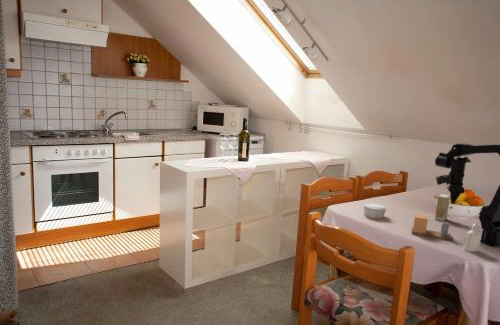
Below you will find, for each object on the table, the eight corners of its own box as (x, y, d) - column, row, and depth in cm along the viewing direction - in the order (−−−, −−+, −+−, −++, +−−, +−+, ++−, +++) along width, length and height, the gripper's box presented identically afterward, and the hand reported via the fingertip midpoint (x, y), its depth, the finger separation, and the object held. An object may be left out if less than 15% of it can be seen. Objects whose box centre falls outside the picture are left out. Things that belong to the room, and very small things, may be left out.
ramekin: (371, 220, 196) (373, 209, 195) (357, 213, 206) (358, 203, 205) (390, 218, 200) (391, 208, 199) (375, 212, 210) (376, 202, 209)
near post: (446, 234, 178) (448, 222, 177) (447, 236, 176) (449, 224, 175) (440, 233, 179) (442, 221, 178) (440, 235, 177) (442, 223, 176)
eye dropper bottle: (480, 253, 161) (485, 224, 159) (465, 251, 162) (470, 222, 160) (477, 249, 165) (481, 221, 163) (462, 247, 166) (466, 219, 164)
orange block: (425, 230, 182) (427, 216, 181) (425, 233, 178) (427, 219, 176) (413, 228, 184) (415, 214, 183) (412, 231, 180) (414, 217, 178)
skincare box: (437, 216, 208) (441, 193, 206) (447, 218, 206) (450, 195, 203) (434, 219, 203) (437, 195, 201) (443, 221, 201) (447, 197, 199)
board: (450, 236, 180) (451, 234, 179) (451, 241, 173) (452, 239, 173) (412, 229, 185) (412, 227, 185) (411, 234, 179) (411, 231, 179)
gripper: (437, 165, 197) (432, 196, 200) (438, 171, 180) (433, 205, 183) (463, 168, 193) (458, 200, 196) (467, 175, 176) (461, 209, 179)
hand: (452, 203), depth 188 cm, fingers closed
